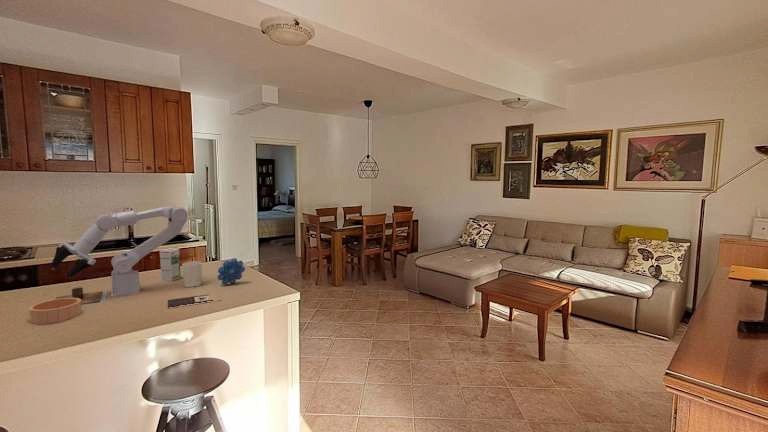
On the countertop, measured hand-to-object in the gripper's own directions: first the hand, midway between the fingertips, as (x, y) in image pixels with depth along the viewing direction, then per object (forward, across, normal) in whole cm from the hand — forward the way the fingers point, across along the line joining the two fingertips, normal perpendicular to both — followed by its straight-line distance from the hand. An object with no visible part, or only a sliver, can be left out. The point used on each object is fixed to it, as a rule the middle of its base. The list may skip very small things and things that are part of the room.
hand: (60, 271), depth 133 cm
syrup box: (-14, +19, +34) cm, 42 cm away
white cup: (-18, +34, +25) cm, 45 cm away
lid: (+6, +9, +6) cm, 13 cm away
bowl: (+10, +16, -8) cm, 21 cm away
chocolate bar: (-14, +47, +5) cm, 49 cm away
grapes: (-26, +47, +26) cm, 60 cm away
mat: (+7, +9, +7) cm, 13 cm away
